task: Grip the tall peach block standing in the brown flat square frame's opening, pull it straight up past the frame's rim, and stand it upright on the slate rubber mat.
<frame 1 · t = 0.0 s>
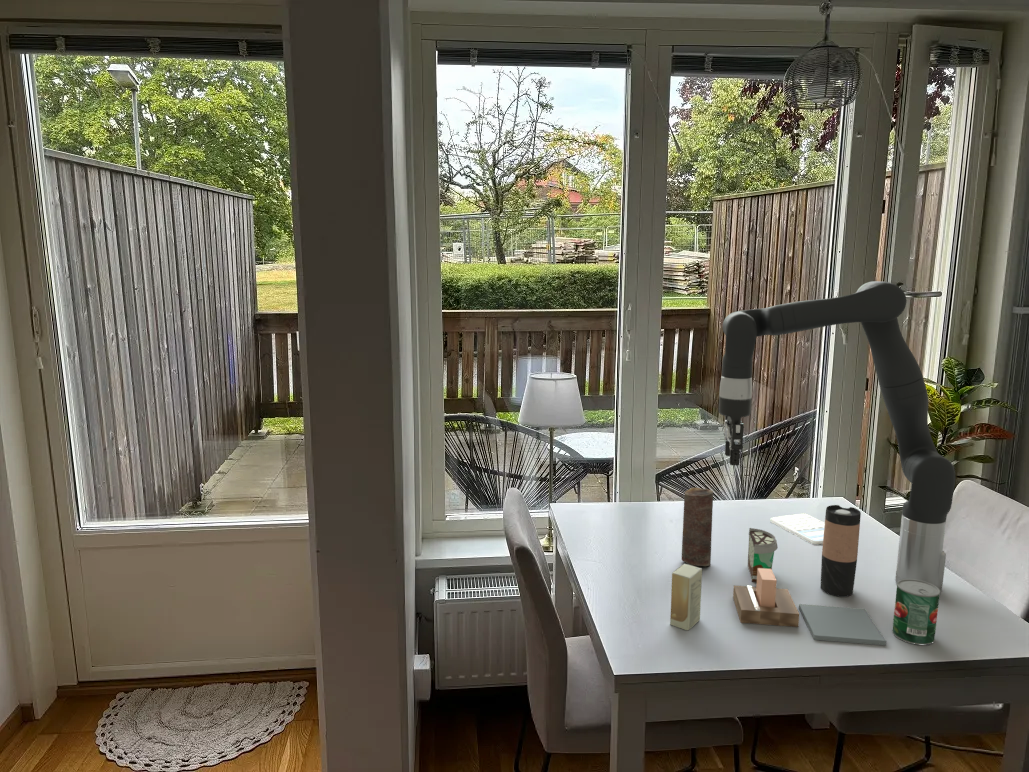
hand: (731, 460, 178), 29 cm above the table, tool pointing down, fingers open, 8 cm apart
skincare box: (684, 623, 158), on the table
mat: (840, 625, 156), on the table
candle: (695, 564, 188), on the table
canned tomato: (913, 636, 152), on the table
travel mug: (836, 590, 173), on the table
calculator: (809, 532, 212), on the table
tall peach block: (765, 593, 162), in the brown flat square frame
food container: (762, 575, 182), on the table
brown flat square frame: (764, 611, 163), on the table
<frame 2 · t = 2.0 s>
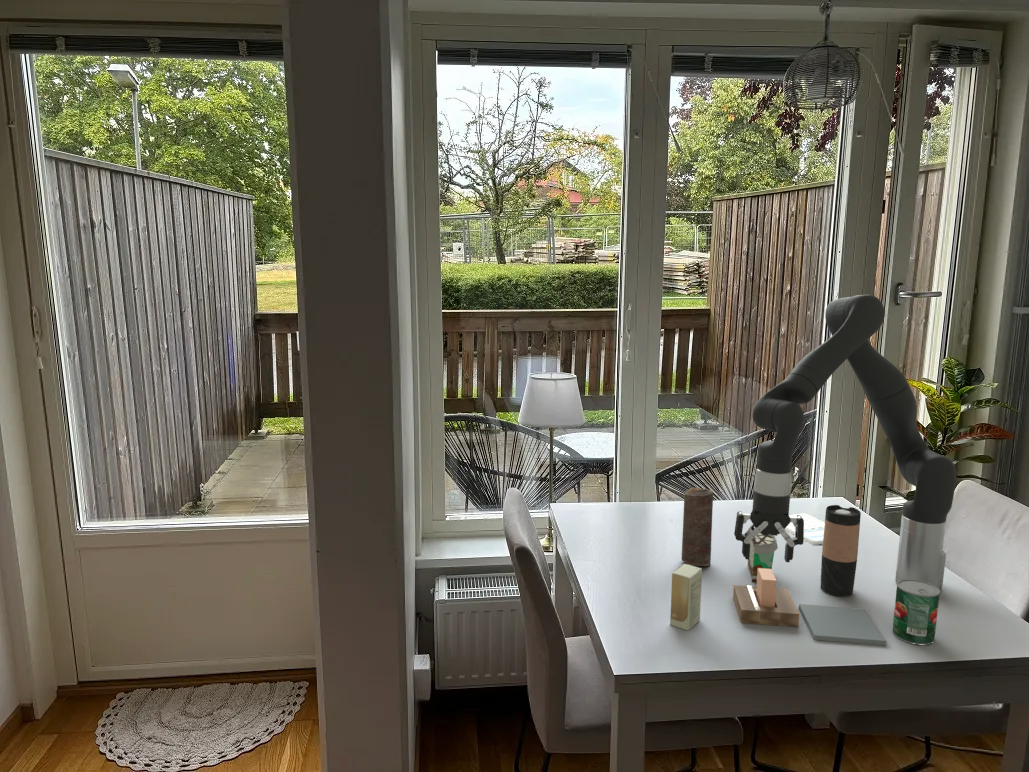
hand: (766, 559, 161), 12 cm above the table, tool pointing down, fingers open, 8 cm apart
nothing on the table moved.
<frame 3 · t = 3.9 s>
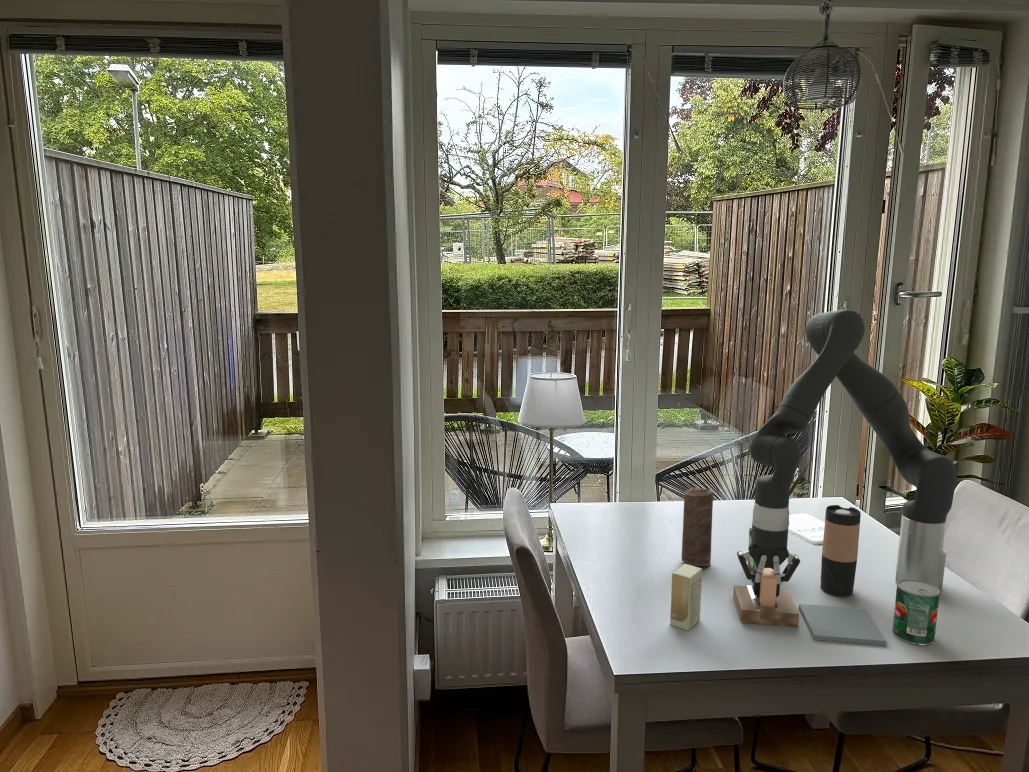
hand: (765, 596, 162), 4 cm above the table, tool pointing down, fingers closed on tall peach block, 2 cm apart
tall peach block: (765, 592, 162), in the brown flat square frame, touching gripper
everything else where it was.
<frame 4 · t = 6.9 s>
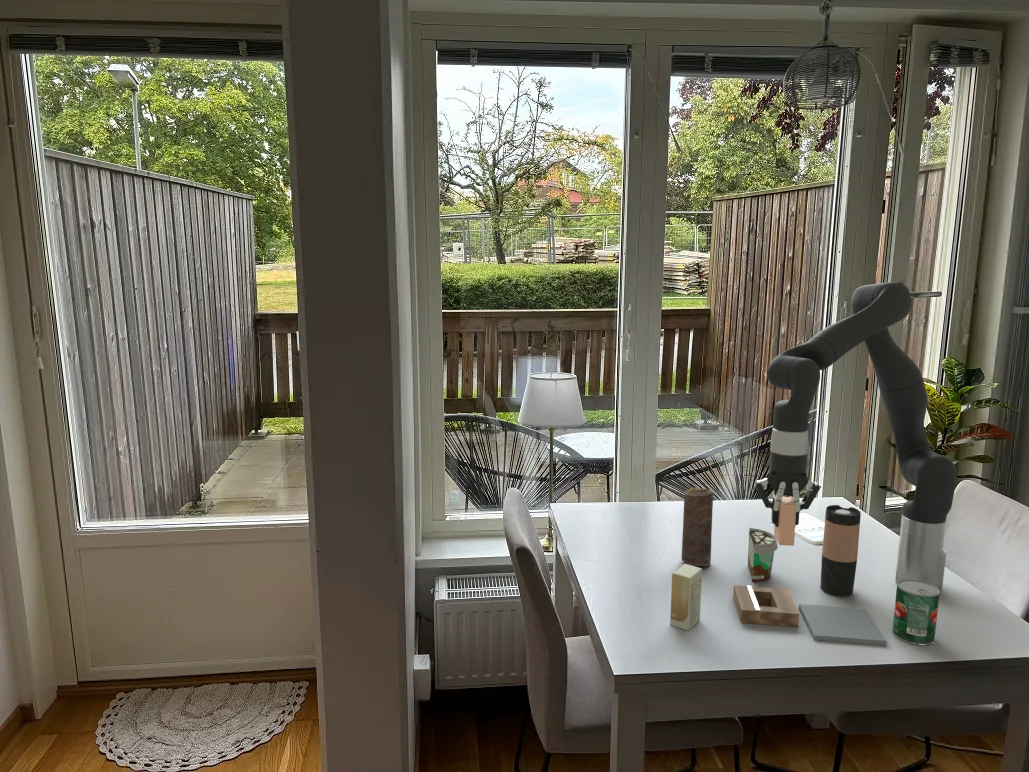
hand: (784, 525, 158), 21 cm above the table, tool pointing down, fingers closed on tall peach block, 2 cm apart
tall peach block: (784, 520, 158), point 22 cm above the table, touching gripper
everything else where it was.
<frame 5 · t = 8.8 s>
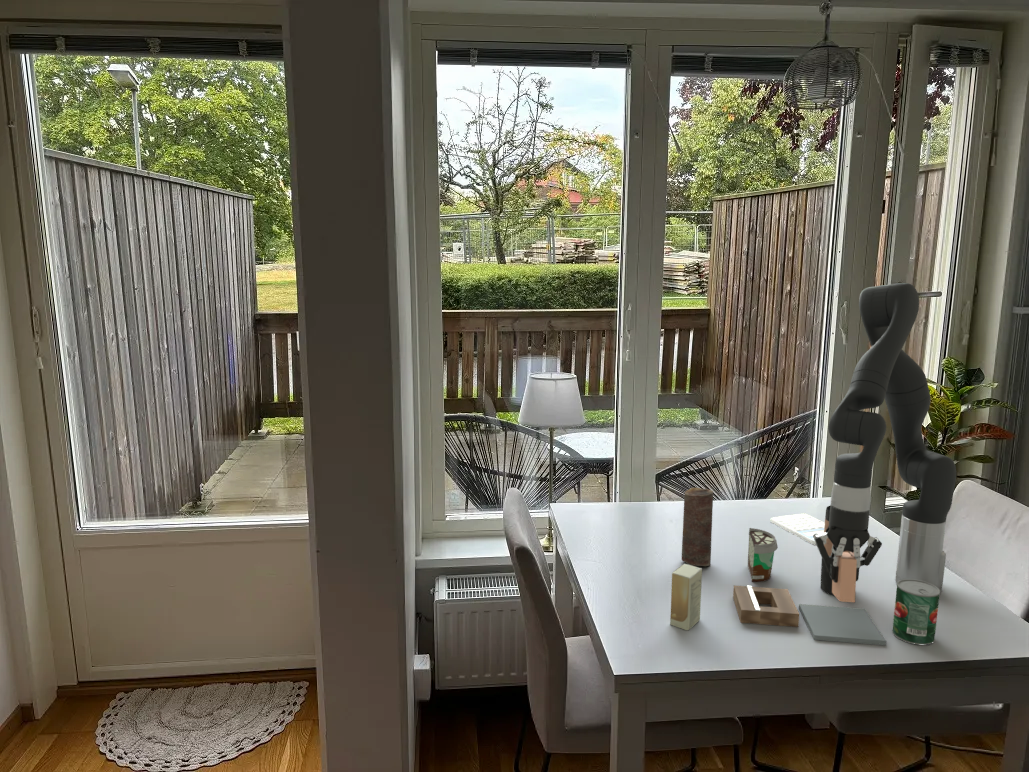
hand: (843, 581, 155), 10 cm above the table, tool pointing down, fingers closed on tall peach block, 2 cm apart
tall peach block: (844, 576, 154), point 11 cm above the table, tilted 8°, touching gripper
everything else where it was.
when the fingers open (6 cm above the table, at t = 10.3 s): tall peach block drops 2 cm, resting on mat.
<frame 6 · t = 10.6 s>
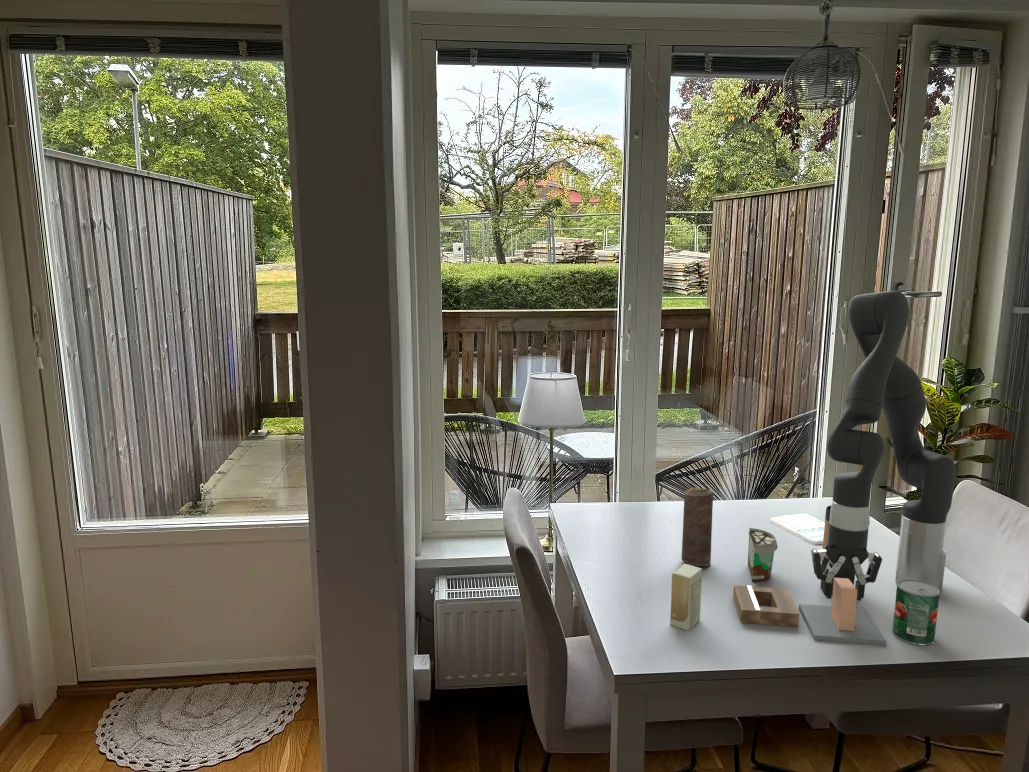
hand: (842, 597, 155), 6 cm above the table, tool pointing down, fingers open, 5 cm apart
tall peach block: (843, 603, 154), on the mat, point 6 cm above the table
everything else where it was.
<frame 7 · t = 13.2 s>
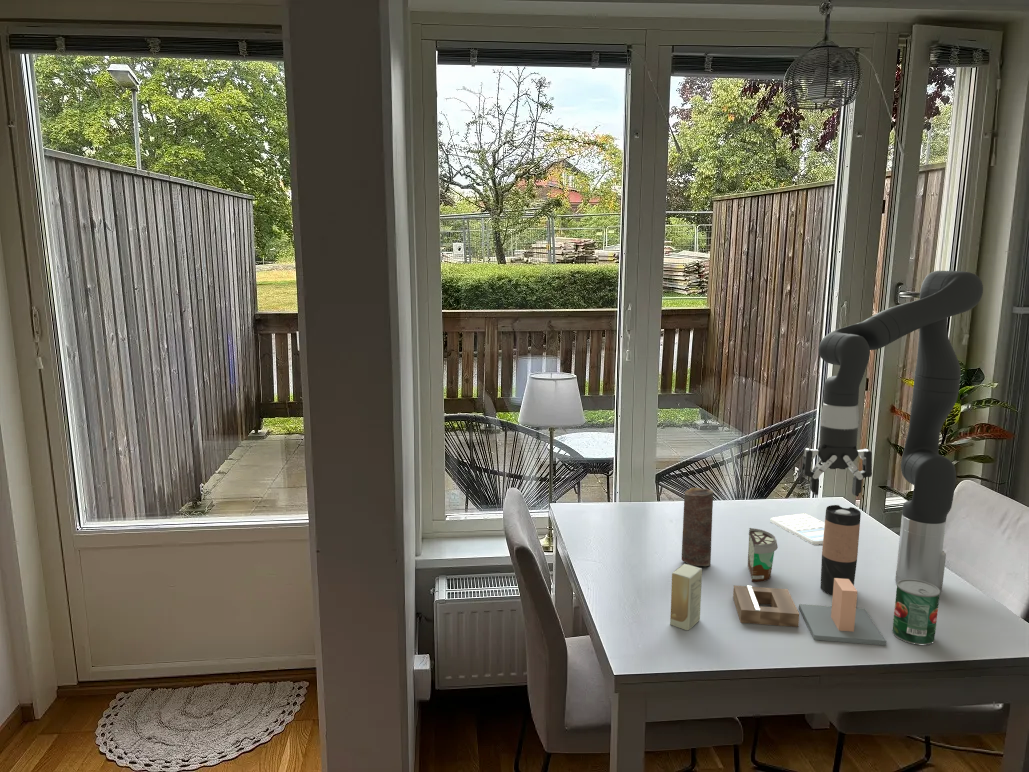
hand: (835, 494, 163), 26 cm above the table, tool pointing down, fingers open, 8 cm apart
nothing on the table moved.
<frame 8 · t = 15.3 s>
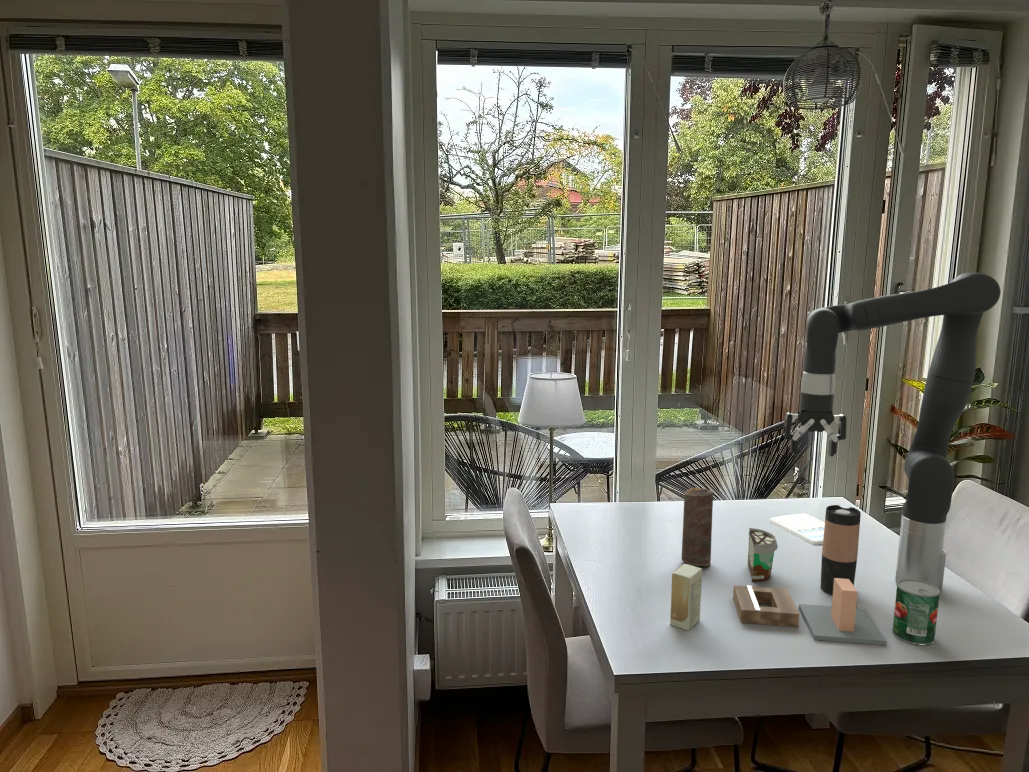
hand: (812, 455, 179), 30 cm above the table, tool pointing down, fingers open, 8 cm apart
nothing on the table moved.
at the end: tall peach block inside the target area on the mat (1.1 cm from its centre), point 5.5 cm above the mat's base; tall peach block tilted 0°; the gripper is holding nothing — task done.
